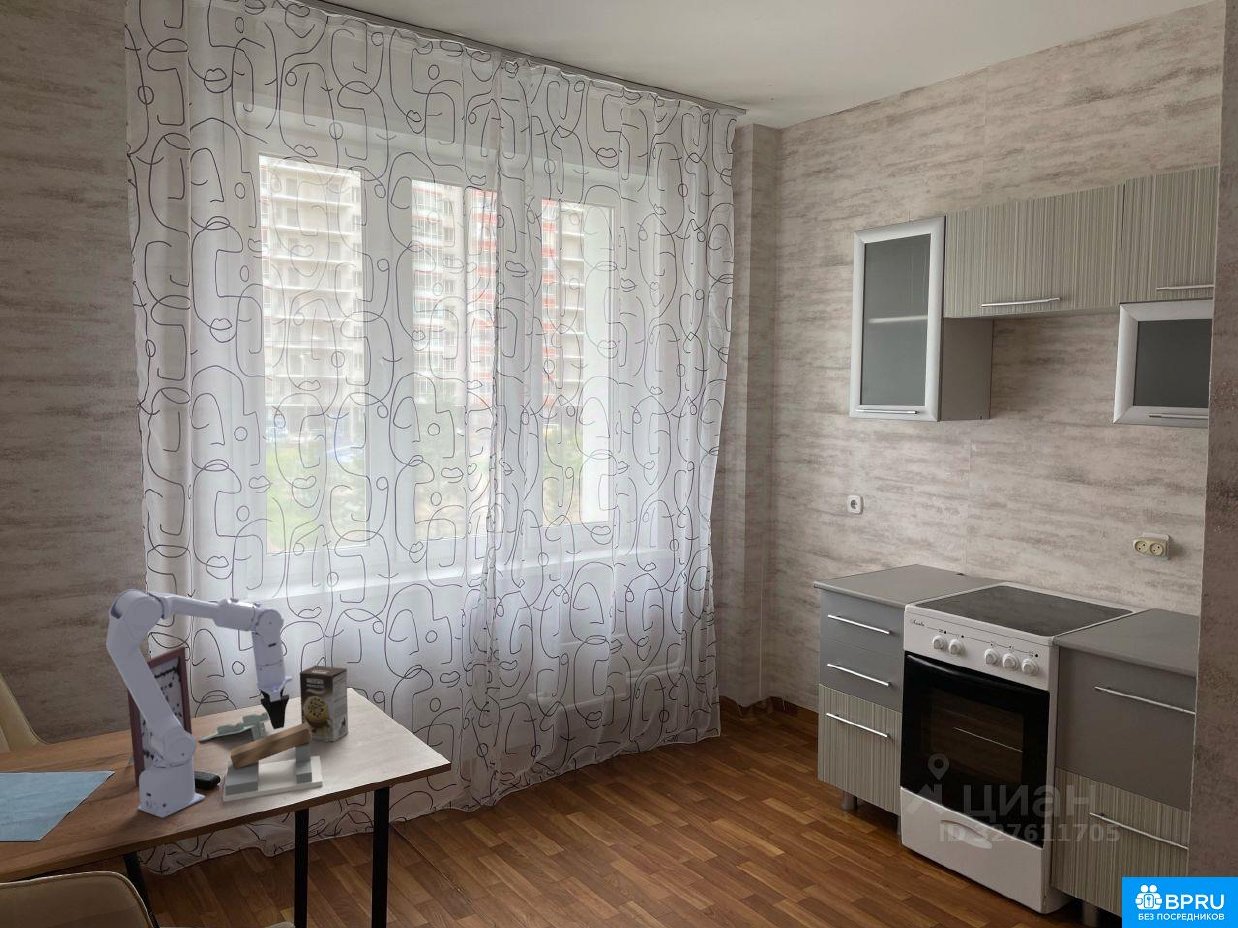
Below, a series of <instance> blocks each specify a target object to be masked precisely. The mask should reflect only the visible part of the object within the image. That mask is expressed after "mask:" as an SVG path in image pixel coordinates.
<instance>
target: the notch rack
mask: <svg viewBox="0 0 1238 928" xmlns="http://www.w3.org/2000/svg"><path fill="white" fill-rule="evenodd" d="M294 750H295V751H294V752H295V754H294V755H295V759H294V758H293V759H289V760H288V759H287V760H281V761H276V762H275V761H274V762H269V763H262V764H260V760H259V761H256V762H254V763H251V764H248V765H246V766H243V767H240V768H238V769H234V766H233V763H232V760H229V761H228V765H227V769H226V772H225V780H224V787H223V793H222V794H223V795H222V802H223V803H225V802H226V803H227V802H230V801H231V802H232V801H239V800H244V799H249V798H250V799H251V798H255V797H256V798H257V797H262V796H268V795H274V794H280V793H286V792H294V791H299V790H306V789H312V788H318V787H323V776H322V767H321V766H322V765H321V758H320V755H314V756H311V741H310V742H307V743H304V744H302V745H299V746H296V747H294Z"/></svg>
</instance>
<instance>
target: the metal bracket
mask: <svg viewBox="0 0 1238 928" xmlns="http://www.w3.org/2000/svg"><path fill="white" fill-rule="evenodd" d="M269 721H270V718H269V715H268V713H267V711H265V712H262V713H261V714H258V713H257V714H256V713H252V714H247V715H243V716H242V722H241V721H239V722H237V723H236V724H232V723H227V724H222V725H219V726H217V727H216V730H217V731H216V732H215V733H212V734H210V735H207V736H204V737H202V738H199V739H198V742H204V741H208V740H211V739H212V738H217V737H222V736H227V735H234V734H239V733H242V732H244V731H247V730H249V729H251V733H252V737H253V738H252V739H253V741H256V740H259V739H261V738H263V737H267V736H268V735H267V730H266V725H265V722H269Z"/></svg>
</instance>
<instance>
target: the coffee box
mask: <svg viewBox="0 0 1238 928" xmlns="http://www.w3.org/2000/svg"><path fill="white" fill-rule="evenodd" d="M347 672H348V669H347V668H343V667H342V668H341V667H335V666H334V667H333V666H324V665H313V666H312V667H308V668H306V669H304V670H302V671H300V672H299V687H300V689H299V690H300V713H301V715H300V716H301V719H300V721H301V724H302V723H305V722H308V725H309V728H310V731H311V736H312V740H315V739H318V740H317V741H322V740H325V741H324V742H330V741H334V742H336V741H338V740H339V739H341V738H343V737H344V736H346V735H347V734H348V733H349V711H348V675H347V674H348V673H347ZM345 734H346V735H345ZM340 737H341V738H340ZM338 738H339V739H338ZM337 739H338V740H337ZM326 740H328V741H326ZM335 740H336V741H335Z"/></svg>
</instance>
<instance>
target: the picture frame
mask: <svg viewBox="0 0 1238 928" xmlns="http://www.w3.org/2000/svg"><path fill="white" fill-rule="evenodd" d="M145 661H146V662H147V664H148V666H149V668H150V670H151V672H152V674H153V676H154V678H155V680H156V682H157V684H158V685H159V687H160V689H161V691H162V693H163V695H164V697H165V699H166V701H167V703H168V705H169V707H170V708H171V710H172V712H173V714H174V715H175V717H176V718H177V719H178V721H179V722H180V724H181V725H182V727H183V729H184V730H185V731H186V732H187V733H189V734H191V735H192V736H193V732H192V719H191V708H190V707H191V706H190V695H189V694H190V693H189V685H188V673H187V660H186V648H185V646H178V647H176V648H173V649H171V650H168V651H166V652H163V653H162V654H158V655H157V656H153V657H152V658H149V659H146V660H145ZM126 688H127V687H126ZM126 692H127V700H128V701H127V702H128V711H129V713H128V714H129V723H130V733H131V734H130V735H131V745H132V746H131V747H132V754H131V756H130V758H129V761H128V763H127V766H128V765H130V764H132V763H133V767H134V778H135V786H139V777H140V774H141V773H142V772H143V771H145V770H147V769H148V768H149V767H150V766H151V765H152V764H153V758H154V755H155V752H156V751H154V750H153V749H152V748H151V747H150V745H149V732H148V729H147V727H146V721H145V719H144V717H143V716H142V714H141V712H140V710H139V708H138V706H137V704H136V703H135V701H134V699H133V697H132V695H131V693H130V691H129V689H128V688H127V689H126Z"/></svg>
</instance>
